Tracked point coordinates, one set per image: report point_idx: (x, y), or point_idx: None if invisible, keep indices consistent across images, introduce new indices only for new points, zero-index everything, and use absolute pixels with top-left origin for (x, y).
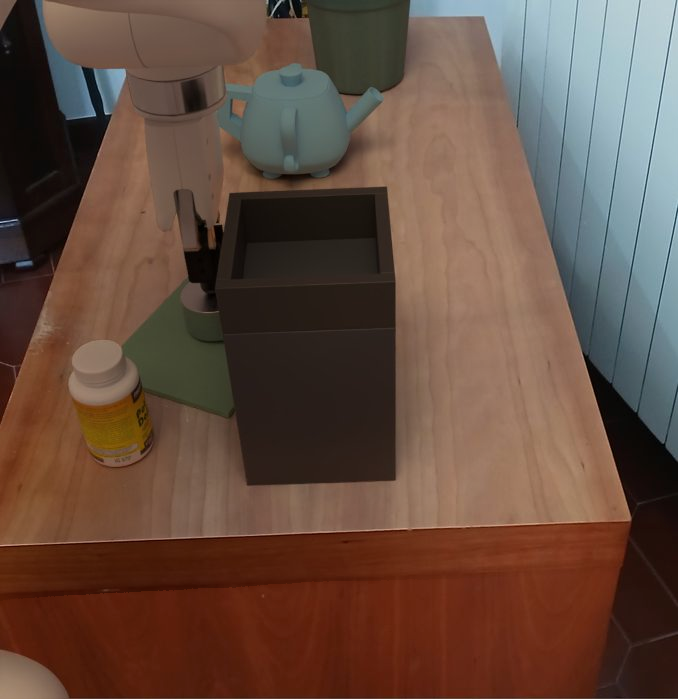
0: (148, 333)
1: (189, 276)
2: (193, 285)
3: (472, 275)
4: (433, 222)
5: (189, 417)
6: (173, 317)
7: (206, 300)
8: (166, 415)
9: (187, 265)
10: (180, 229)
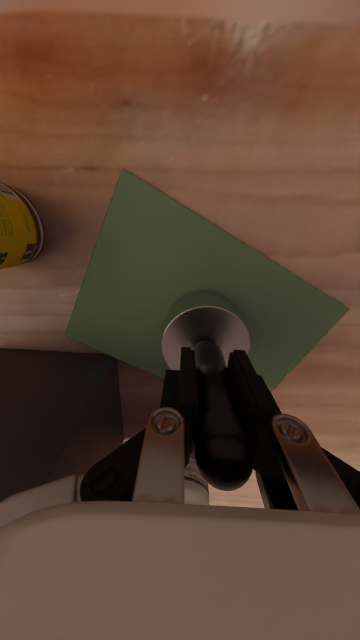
0: (197, 239)
1: (181, 353)
2: (227, 323)
3: (236, 490)
4: None
5: (65, 296)
6: (225, 271)
7: (188, 341)
8: (65, 272)
9: (181, 368)
10: (136, 488)
